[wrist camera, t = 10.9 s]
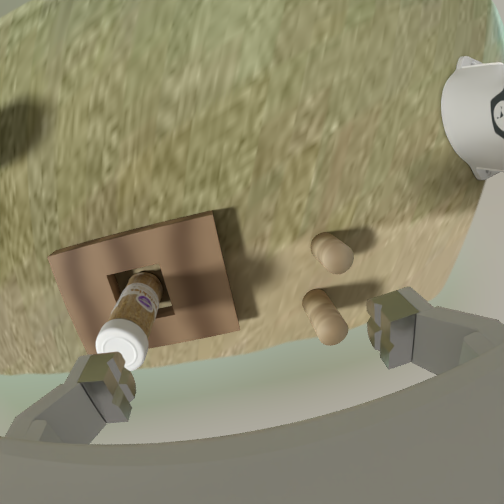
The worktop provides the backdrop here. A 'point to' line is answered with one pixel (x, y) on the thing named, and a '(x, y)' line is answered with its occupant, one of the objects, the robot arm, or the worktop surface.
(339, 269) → the short beech dowel
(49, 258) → the walnut board
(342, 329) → the medium beech dowel
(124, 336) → the sprinkles bottle
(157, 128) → the worktop surface
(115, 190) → the worktop surface
